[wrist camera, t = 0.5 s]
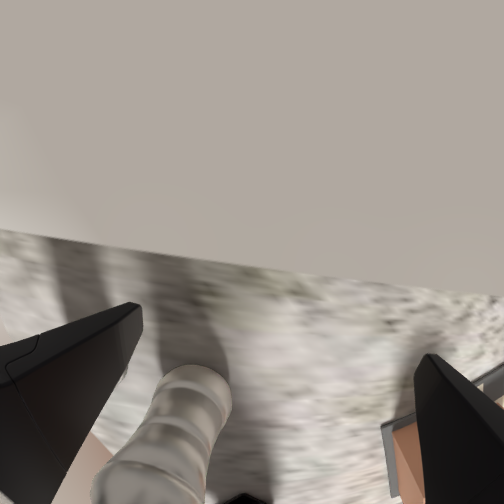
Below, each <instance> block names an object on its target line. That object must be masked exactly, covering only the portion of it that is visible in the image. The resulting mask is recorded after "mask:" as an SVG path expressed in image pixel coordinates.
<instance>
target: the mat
mask: <svg viewBox="0 0 504 504" xmlns="http://www.w3.org/2000/svg"><path fill="white" fill-rule="evenodd" d="M473 384H474V385H475V386H476V387H477V388H479V389H480V390H481V391H482V392H483V393H485V394H486V395H487V396H488V397H489V398H491V399H492V400H493V401H494V402H495V403H499V404H500V405H501V406H502V407H503V408H504V364H503V365H502V366H500V367H499V368H497V369H496V370H494V371H492V372H491V373H489V374H488V375H486V376H484V377H483V378H481V379H479V380H478V381H476V382H474V383H473ZM415 422H417V421H416V412H415V413H413V414H411V415H409V416H406V417H404V418H402V419H399V420H397V421H394V422H392V423H389V424H387V425H384V426H382V427H381V432H382V438H383V444H384V450H385V456H386V463H387V470H388V477H389V485H390V493H391V498H394V497H397V496H399V495H400V494H399V489H398V478H397V469H396V460H395V452H394V444H393V437H392V432H393V431H396V430H398V429H401V428H403V427H405V426H408V425H410V424H412V423H415Z"/></svg>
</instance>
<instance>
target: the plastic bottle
mask: <svg viewBox="0 0 504 504" xmlns="http://www.w3.org/2000/svg"><path fill="white" fill-rule="evenodd" d="M231 410H232V397H231V390H230V387H229V385H228V384H227V382H226V381H225V379H224V378H223V377H222V376H221V375H219V374H218V373H217V372H215V371H213V370H212V369H210V368H207V367H204V366H200V365H183V366H180V367H177V368H175V369H173V370H172V371H170V372H169V373H168V374H167V375H165V376H164V377H163V378H162V379H161V380H160V382H159V383H158V385H157V387H156V390H155V392H154V395H153V398H152V402H151V405H150V407H149V409H148V411H147V413H146V416H145V418H144V420H143V422H142V423H141V425H140V426H139V427H138V429H137V430H136V432H135V433H134V434H133V435H132V437H131V438H130V439H129V441H128V442H127V443H126V444H125V445H124V446H123V447H122V448H121V449H120V450H119V451H118V452H117V453H116V454H115V455H114V456H113V457H112V458H111V459H110V460H109V461H108V462H107V463H106V464H105V465H104V466H103V467H102V468H101V469H100V471H99V472H98V473H97V474H96V475H95V477H94V478H93V481H92V486H91V490H90V499H91V504H204V503H205V487H206V476H207V471H208V466H209V461H210V456H211V451H212V449H213V447H214V444H215V442H216V440H217V437H218V435H219V433H220V431H221V430H222V428H223V427H224V425H225V423H226V421H227V419H228V417H229V415H230V413H231Z"/></svg>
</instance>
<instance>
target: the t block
mask: <svg viewBox="0 0 504 504" xmlns="http://www.w3.org/2000/svg"><path fill="white" fill-rule="evenodd" d="M496 404H498V405H499V406H500V407H501V408H502V409H503V410H504V408H503V407H502V406H501V405H500V404H499V403H496ZM392 437H393V444H394V452H395V460H396V469H397V478H398V489H399V494H400V496H401V499H402V502H403V504H425V492H424V479H423V468H422V459H421V450H420V443H419V435H418V428H417V422H415V423H412V424H410V425H408V426H405V427H403V428H401V429H398V430H396V431H393V432H392Z"/></svg>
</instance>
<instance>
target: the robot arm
mask: <svg viewBox="0 0 504 504" xmlns="http://www.w3.org/2000/svg"><path fill="white" fill-rule="evenodd" d="M142 332H143V315H142V307H141V305H139V304H136V303H132V302H127V303H124V304H122V305H119V306H116V307H113V308H111V309H108V310H105V311H102V312H99V313H97V314H94V315H91V316H88V317H85V318H83V319H80V320H77V321H74V322H71V323H69V324H66V325H63V326H60V327H57V328H55V329H52V330H49V331H46V332H43V333H41V334H40V335H39V334H38V335H35V336H32V337H29V338H26V339H23V340H20V341H17V342H14V343H10V344H7V345H3V346H0V504H51V503H52V500H53V499H54V497H55V495H56V493H57V491H58V489H59V487H60V485H61V483H62V481H63V479H64V478H65V476H66V474H67V471H68V469H69V468H70V466H71V464H72V462H73V460H74V458H75V457H76V455H77V453H78V451H79V449H80V447H81V446H82V444H83V442H84V440H85V438H86V437H87V435H88V433H89V431H90V430H91V428H92V426H93V424H94V423H95V421H96V419H97V417H98V416H99V414H100V412H101V410H102V409H103V407H104V405H105V403H106V402H107V400H108V398H109V397H110V395H111V393H112V392H113V390H114V388H115V386H116V385H117V383H118V381H119V380H120V378H121V376H122V375H123V373H124V371H125V369H126V367H127V365H128V363H129V361H130V359H131V356H132V354H133V352H134V350H135V347H136V345H137V343H138V341H139V339H140V337H141V334H142ZM414 393H415V409H416V421H417V428H418V435H419V443H420V450H421V459H422V468H423V479H424V492H425V504H504V410H503V409H502V408H501V407H500V406H499V405H498V404H496V403H495V402H494V401H493V400H492V399H491V398H489V397H488V396H487V395H486V394H485V393H483V392H482V391H481V390H480V389H479V388H477V387H476V386H475V385H474V384H473V383H471V382H470V381H469V380H468V379H467V378H465V377H464V376H463V375H462V374H461V373H459V372H458V371H457V370H456V369H454V368H453V367H452V366H451V365H450V364H448V363H447V362H446V361H445V360H443V359H442V358H441V357H440V356H438V355H437V354H428V353H427V354H425V355H424V356H423V358H422V360H421V362H420V364H419V366H418V367H417V369H416V371H415V374H414ZM224 504H266V503H264V502H262V501H260V500H258V499H256V498H254V497H252V496H250V495H248V494H245V493H242V494H240V495H238V496H236V497H235V498H233V499H231V500H229V501H227V502H226V503H224Z"/></svg>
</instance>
